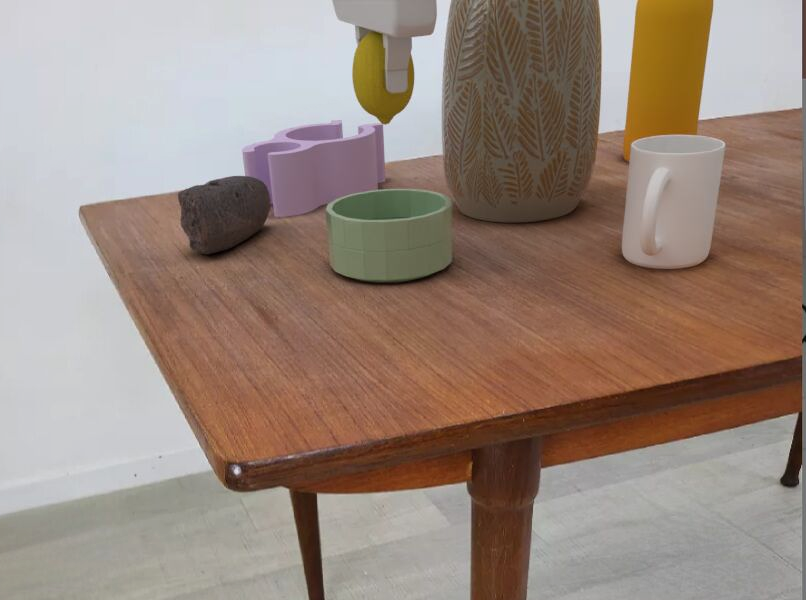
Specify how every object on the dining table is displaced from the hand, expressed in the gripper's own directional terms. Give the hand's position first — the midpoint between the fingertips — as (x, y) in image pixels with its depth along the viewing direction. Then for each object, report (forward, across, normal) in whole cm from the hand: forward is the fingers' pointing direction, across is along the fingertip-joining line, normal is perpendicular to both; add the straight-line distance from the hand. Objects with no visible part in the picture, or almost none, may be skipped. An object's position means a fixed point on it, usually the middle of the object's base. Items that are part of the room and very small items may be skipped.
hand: (384, 86), depth 84 cm
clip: (+16, +32, +1) cm, 35 cm away
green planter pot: (+16, 0, 0) cm, 16 cm away
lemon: (+3, 0, 0) cm, 3 cm away
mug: (+16, -10, -24) cm, 30 cm away
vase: (+16, +14, -19) cm, 29 cm away
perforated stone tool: (+16, +16, +14) cm, 26 cm away
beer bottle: (+16, +28, -45) cm, 56 cm away
